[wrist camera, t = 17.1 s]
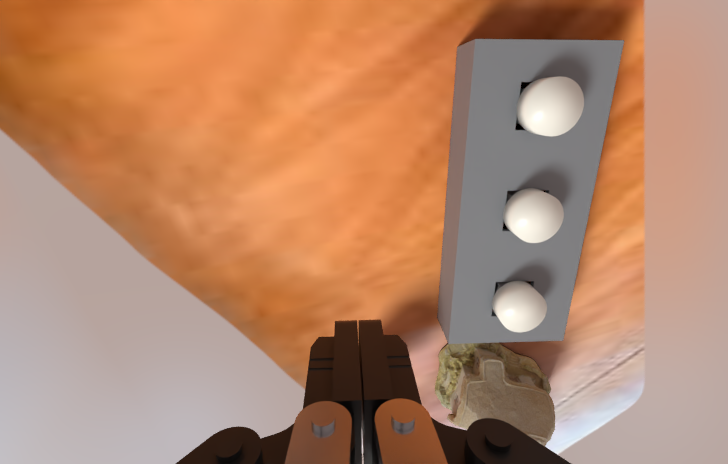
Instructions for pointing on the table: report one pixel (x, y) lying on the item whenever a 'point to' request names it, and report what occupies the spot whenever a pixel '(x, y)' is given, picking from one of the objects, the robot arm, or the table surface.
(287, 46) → the table surface
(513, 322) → the knob outer
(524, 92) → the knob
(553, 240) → the control panel
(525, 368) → the ceramic model
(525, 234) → the knob middle
